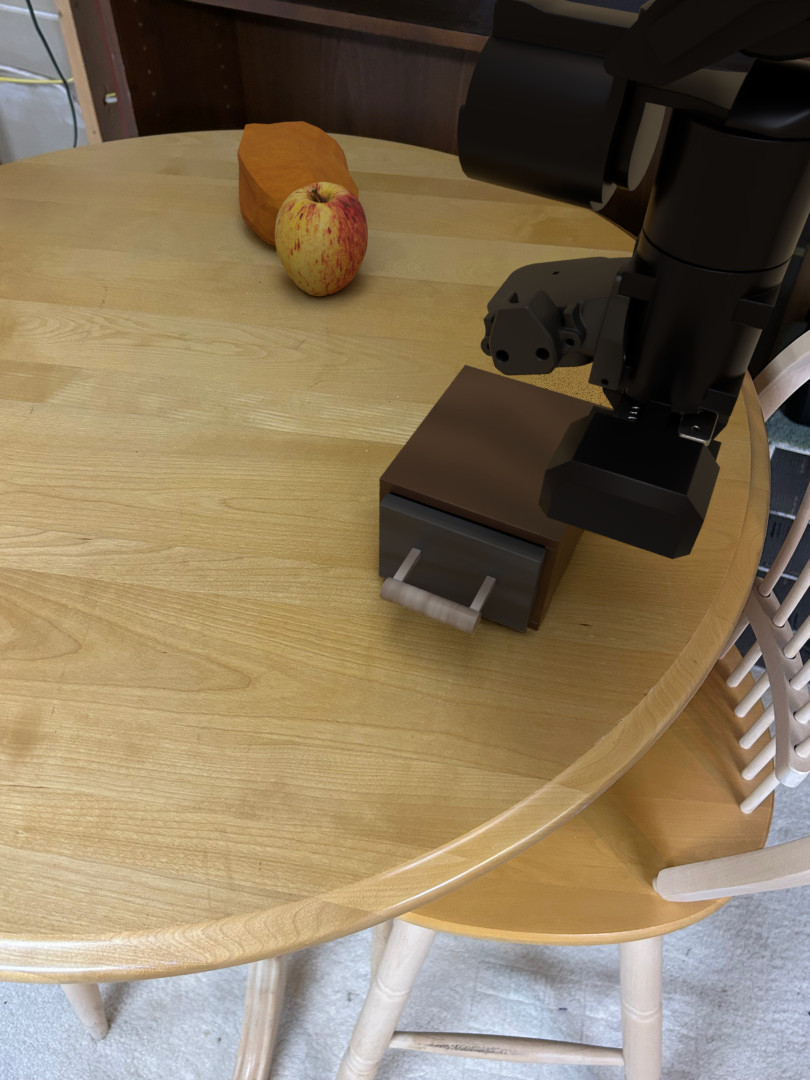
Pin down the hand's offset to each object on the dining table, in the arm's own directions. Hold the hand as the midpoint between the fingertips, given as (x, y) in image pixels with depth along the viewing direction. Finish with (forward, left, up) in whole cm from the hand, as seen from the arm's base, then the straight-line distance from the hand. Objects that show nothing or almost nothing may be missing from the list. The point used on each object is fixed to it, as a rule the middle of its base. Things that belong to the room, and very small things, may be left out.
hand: (626, 518), depth 43 cm
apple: (+37, -31, -12) cm, 50 cm away
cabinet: (+9, -7, -12) cm, 16 cm away
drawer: (+9, -3, -11) cm, 14 cm away
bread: (+46, -43, -12) cm, 64 cm away
